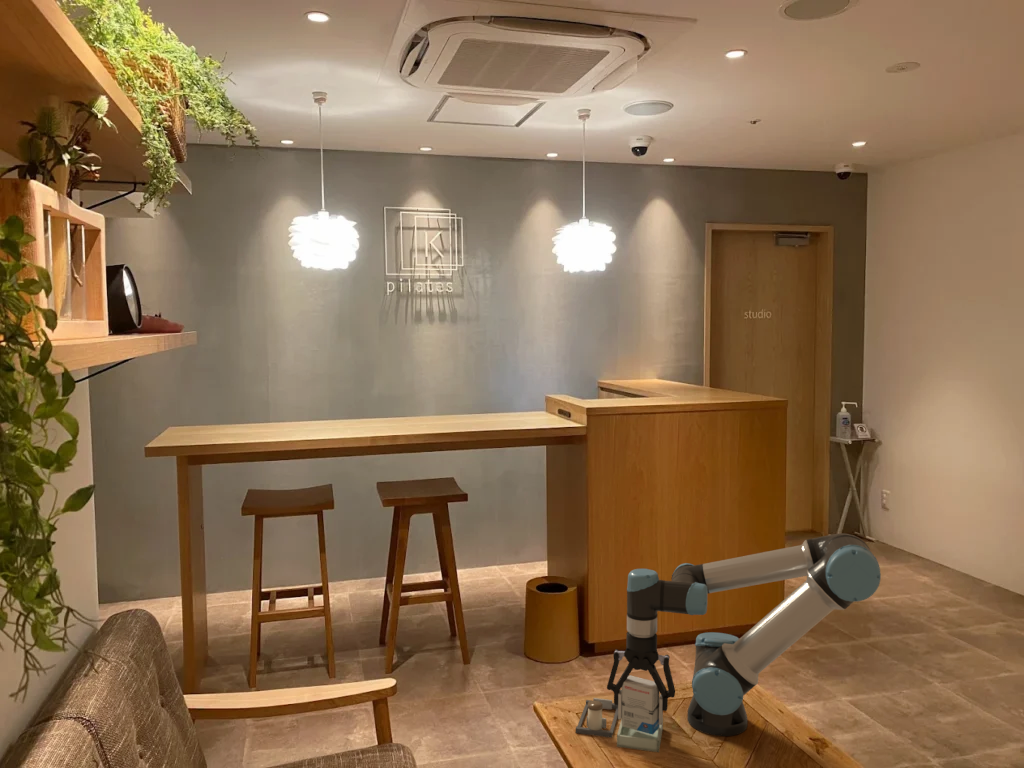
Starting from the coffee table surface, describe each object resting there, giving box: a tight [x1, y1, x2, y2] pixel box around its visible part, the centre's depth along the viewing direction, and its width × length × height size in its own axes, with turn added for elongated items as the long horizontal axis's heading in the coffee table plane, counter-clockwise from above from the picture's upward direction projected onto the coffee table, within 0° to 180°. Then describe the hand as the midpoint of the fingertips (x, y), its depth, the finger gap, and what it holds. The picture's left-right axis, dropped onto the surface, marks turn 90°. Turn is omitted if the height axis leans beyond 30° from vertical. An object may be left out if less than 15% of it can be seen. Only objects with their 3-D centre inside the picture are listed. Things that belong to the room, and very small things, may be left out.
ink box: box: [621, 674, 660, 734], centre depth 206 cm, size 9×5×12 cm, turn 57°
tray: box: [616, 718, 664, 753], centre depth 206 cm, size 10×12×3 cm
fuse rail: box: [575, 697, 618, 739], centre depth 215 cm, size 9×16×2 cm, turn 165°
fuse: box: [587, 700, 603, 730], centre depth 209 cm, size 4×4×7 cm
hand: (640, 719), depth 206 cm, fingers open, 9 cm apart
